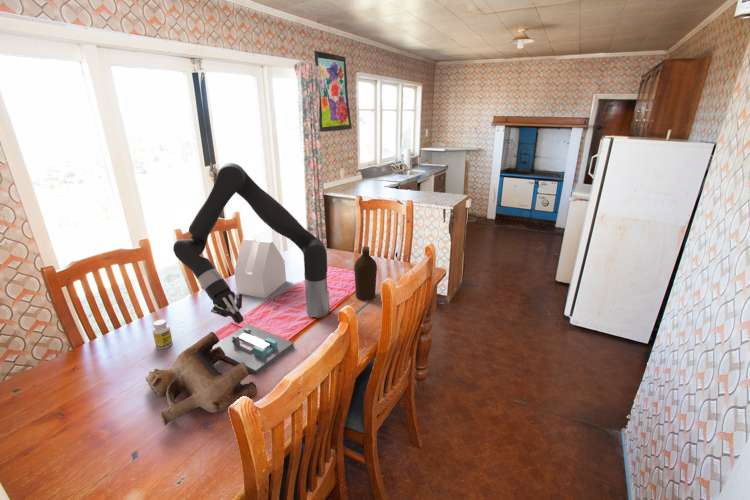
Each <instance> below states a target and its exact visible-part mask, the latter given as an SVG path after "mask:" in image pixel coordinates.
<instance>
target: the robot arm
mask: <svg viewBox="0 0 750 500" xmlns="http://www.w3.org/2000/svg"><path fill="white" fill-rule="evenodd" d="M235 194H237V195H239V196H240V197H241V198H242V199H244V201H246V203H247V204H248V205H249V206H250V208H251V209H252V211H253V212H255V214H256V215H257V216H258V218H260V220H261V221H262V222H264V223H265V224H266V225H267V226H268V227H269V228H270V229H271V230H273V231H274V232H276V233H278V234H279V235H281V236H283V237H285V238H287V239H289V240H290V241H291V242H292V243H293V244H295V245H296V246H297V248H298V249H300V251H301V252H302V254H303V264H304V285H305V286H304V288H305V302H306V305H305V306H306V315H307V314H308V315H309V316H308V315H307V316H308V317H310V316H311V317H310V318H312V317H316V318H315V319H317V318H318V319H320V318H324V317H325V316H327V315H328V313H329V311H330V292H329V290H328V276H327V275H328V274H327V273H328V253H327V248H326V247H325V245H324V242H323V241H322V240H320V239H319V237H316V236H315V235H314V234H312V233H311V232H309V231H308V230H307V229H306V228H305V227H303V226H302V224H301V223H300V222H299V221H298V220H297V219H296V218H295V217H294V216H293V214H291V213H290V212H289V211H288V210H287V209H286V208H285V207H284V206H283V205H282V204H281V203H280V202H278V201H277V200H276V199H275V198H273V196H271V195H270V194H269V193H268V192H266V191H265V190H264V189H262V188H261V187H260V186H259V185H258V184H257V183H256V182H255V181H254V180H253V179H252V177H250V175H248V173H247V172H246V170H245V169H244V168H243V167H241V166H240V165H239V164H238V163H233V162H228V163H227V162H226V163H225V164H224V165H222V166H221V167H220V168H219V169H218V172H217V174H216V178H215V181H214V183H213V186H212V189H211V191H210V193H209V195H208V196H207V198H206V200H205V202H204V204H203V205H202V206H201V208H200V209H199V210H198V212H197V214H196V215H195V216H194V218H193V220H192V222H191V223H190V225H189V228H188V233H189V234H190V235H191V236H190V238H188V239H187V238H185V239H184V238H183V239H182V238H181V239H179V240H176V241H175V242H174V244H173V249H172V250H173V253H174V255H175V257H176V258H177V259H178V260H179V262H181V263H182V264H184V265H185V267H186V268H188V269H189V270H191V272H192V273H193V275H194V276H195V278H196V279H197V280H198V282H199V284H200V286H201V288H202V289H203V290H204V291H205V293H206V294H207V296H208V297H209V299H210V300H212V303H213V307H212V308H211V310H210V312H212V313H214V314H215V315H218V316H221V317H224V318H228V317H231V319H232V320H233V321H234V323H235V324H237V325H239V324H241V323H243V321H244V316H243V315H242V314H241V313H240V310H241V309H242V307H243V294H240V293H235V292H234V291H232V290H231V287H230V286H229V284H228V283H227V281H226V280H225V279H224V277H223V276H222V274H221V273H220V272H219V271H218V270H217V268H215V266H214V265H213V263H212V262H211V261H210V259H209V258H207V257H203V256H201V255H202V253H203V252H204V251H205V249H206V245H207V243H208V238H209V235H210V234H211V233H212V230H213V229H214V227H215V225H216V224H217V223H218V220H219V218H220V216H221V214H222V212H223V211H224V209H225V207H226V206H227V204H228V203H229V201H230V200H231V199H232V198H233V196H234V195H235Z"/></svg>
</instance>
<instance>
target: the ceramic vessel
mask: <svg viewBox="0 0 750 500" xmlns="http://www.w3.org/2000/svg"><path fill="white" fill-rule="evenodd" d="M219 341H220V340H219V337H218V336H217V335H216V333H214V331H210V332H209V333H207V334H206V335H205V336H203V337H202V338H200V339H199V340H198V341H197V342H195V343H194V344H192V345H191V346H189V347H188V348H186V349H185V350H183V351H182V352H181V353H180V354H179V355H178V356H177V358H176V359H175V361H174V362H173V363H172V366H171V367H170V368H169V369H159V368H155V369H153V371H149V372H148V375H147V376H146V377H145V381H146V382H147V385H148V386H149V388H150V390H151V391H152V392H155V393H156V394H157V396H158V397H160V398H162V397H165V395H166V401H167V405H168V408H167V409H165V410H162V411H160V413H159V416H160V419H161V422H162V424H163V426H167V425H168V424H169V423H171V422H172V421H174V420H176V419H178V418H180V417H182V416H184V415H186V414H187V413H190V412H191V411H193V410H195V409H198V408H201V409H204V410H205V411H206V412H209V413H211V414H215V413H219V412H222V411H224V410H226V409H228V408H230V407H231V406H230V405H231V404H233V403H234V402H235V401H236V400H237V399H239V398H240V397H242V396H247V397H249V398H250V397H252V396H253V395H257V391H258V389H257V385H256V383H254V382H253V381H250V382H248V383H241V381H244V380H245V379H246V378H247V377H249V375H250V374H251V372H249V370H248V368H247V367H246V365H245V363H243V362H241V363H240V364H239V365H235V366H234V367H233V368H231V369H229V370H228V371H226V372H225V373H222V372H221V371H220V370H219V369H217V368H216V366H215V364H217V363H218V362H219V361H221V360H222V359H223V358H225V353H224V351H223V350H222V349H221V348H220V347H217V348H215V349H213V350H211V349H212V348H213V346H214V345H215V344H217V343H218V342H219ZM210 350H211V351H210ZM183 392H188V393H189V394H190V396H189V397H187V398H185V399H183V400H181V401H176V399H177V398H178V397H179V395H181V394H182V393H183ZM229 406H230V407H229Z"/></svg>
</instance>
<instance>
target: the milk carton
mask: <svg viewBox="0 0 750 500" xmlns="http://www.w3.org/2000/svg"><path fill="white" fill-rule="evenodd" d="M285 261H286V260H285V259H284V258H283V256H282V254H281V253H280V251H279V249H278V248H277V246H276V244H275V243H274V241H272V240H265V239H261V240H260V241H259V242H258V241H257V239H255V238H251V237H250V238H249V237H244V238H242V241H241V243H240V248H239V251H238V255H237V259H236V264H235V267H234V273H233V274H234V280H235V287H236V294H242V295H245V296H252V297H257V298H263V299H266V298H267V297H268V296H270V295H271V294H272V293H273V292H275V291H276V290H277V289H278V288H280V287H281V286H282V285H284V284H285V283H286V282H287V273H286V263H285Z"/></svg>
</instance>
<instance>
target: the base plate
mask: <svg viewBox="0 0 750 500" xmlns="http://www.w3.org/2000/svg"><path fill="white" fill-rule="evenodd" d="M244 333H247V334H249V335H251V336H253V337H256V338H258V339H260V340H262V341H264V342H267V343H269V344H270V348H268V349H267V350H265V349H263V348H261V347H259V346H257V345H256V346H254V347H253V346H251V345H249V344H246V343H244V342H242V341H240V340H239V336H240V335H242V334H244ZM217 347H220V348H221V349H222V350H223V351H224V353H225V358H222V359H223V360H225V361H227V362H229V363H231V364H233V365H235V366H237V365H239V364H240V363H241V362H243V363H245V365H246V367H247V368H248V370H249V372H250V374H253V375H255V376H258V375H259V374H260V373H262V372H263V371H264V370H266V369H267V368H268V367H270V366H271V365H272V364H274V363H275V362H276V361H278V359H280V358H282V357H283V356H284V355H285V354H286V353H288V352H290V351H291V350H292V349H294V342H293V341H290V340H288V339H285V338H284V337H280V336H279V335H276V334H273V333H271V332H269V331H266V330H264V329H261V328H260V327H257V326H254V325H252V324H250V323H248V324H246V325H244V326H243V327H241V328H239V329H238V330H236V331H234V332H232V333H231V334H229V335H227V336H225V337H223V338H222V339H221V340H219V342H218V343H217V344H215V345H214V346H213V348H212V349H211V350H213V349H215V348H217ZM211 350H210V351H211Z"/></svg>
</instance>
